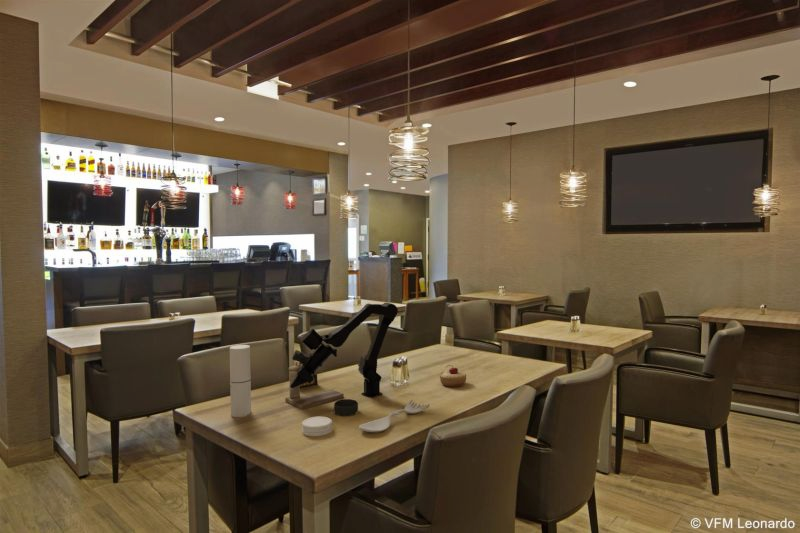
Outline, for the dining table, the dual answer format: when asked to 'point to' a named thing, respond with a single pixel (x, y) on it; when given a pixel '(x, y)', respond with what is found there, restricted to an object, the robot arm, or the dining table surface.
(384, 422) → the white spork
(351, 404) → the smart speaker
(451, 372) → the pastry
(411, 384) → the dining table surface
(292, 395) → the beige round-topped column
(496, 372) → the dining table surface
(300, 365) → the ammunition clip
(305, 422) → the coaster
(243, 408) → the cylindrical container
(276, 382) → the dining table surface
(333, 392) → the walnut plank
